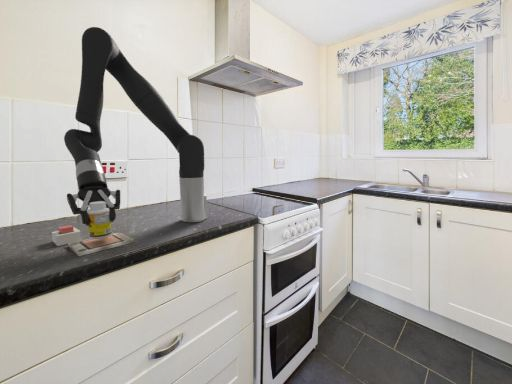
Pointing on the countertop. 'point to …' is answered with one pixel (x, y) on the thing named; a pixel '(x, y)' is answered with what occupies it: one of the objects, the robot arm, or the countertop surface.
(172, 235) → the countertop surface
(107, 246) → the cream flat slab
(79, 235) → the button housing
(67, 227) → the button
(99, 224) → the supplement bottle
